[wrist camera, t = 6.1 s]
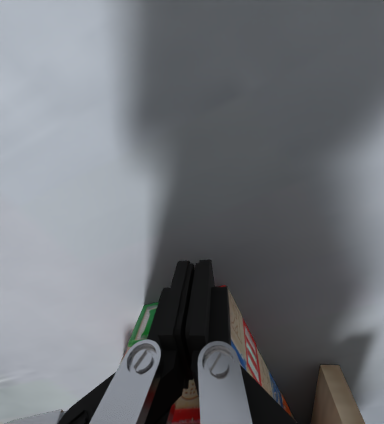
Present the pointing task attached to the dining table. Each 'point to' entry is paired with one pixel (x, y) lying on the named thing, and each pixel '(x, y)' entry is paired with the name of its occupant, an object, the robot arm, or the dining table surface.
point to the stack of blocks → (240, 341)
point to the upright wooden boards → (333, 399)
